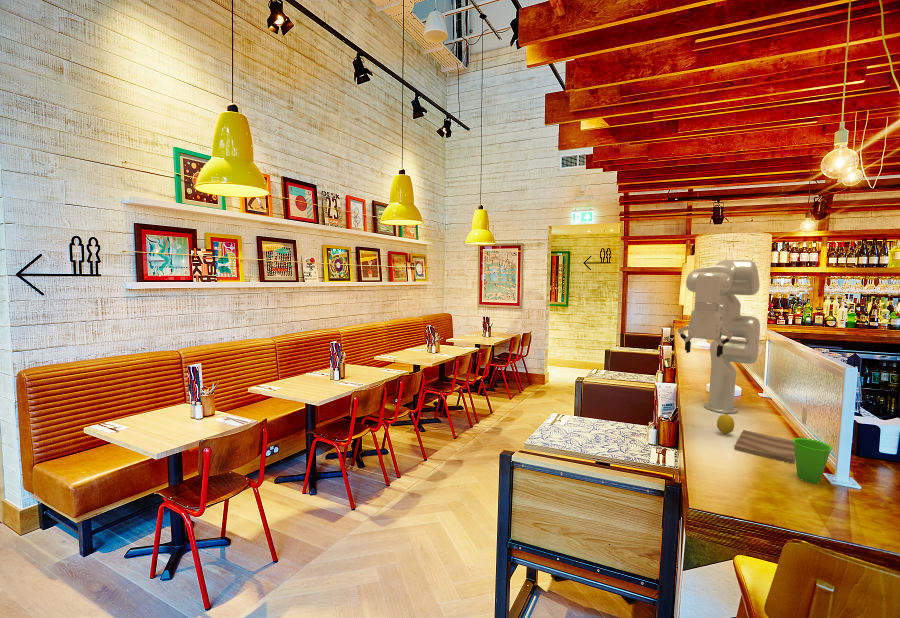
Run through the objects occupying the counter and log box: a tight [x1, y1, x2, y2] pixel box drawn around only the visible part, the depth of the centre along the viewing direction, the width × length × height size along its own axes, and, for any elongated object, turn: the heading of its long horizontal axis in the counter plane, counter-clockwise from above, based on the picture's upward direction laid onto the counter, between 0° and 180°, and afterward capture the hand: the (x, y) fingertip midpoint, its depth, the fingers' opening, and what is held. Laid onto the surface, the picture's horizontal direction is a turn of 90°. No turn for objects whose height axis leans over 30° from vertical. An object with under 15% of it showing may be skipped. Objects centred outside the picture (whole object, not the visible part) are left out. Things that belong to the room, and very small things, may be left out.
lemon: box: [716, 413, 735, 435], centre depth 161 cm, size 6×6×8 cm
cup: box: [791, 437, 833, 484], centre depth 126 cm, size 9×9×11 cm
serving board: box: [734, 429, 796, 465], centre depth 149 cm, size 20×16×2 cm
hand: (703, 354), depth 155 cm, fingers open, 9 cm apart
